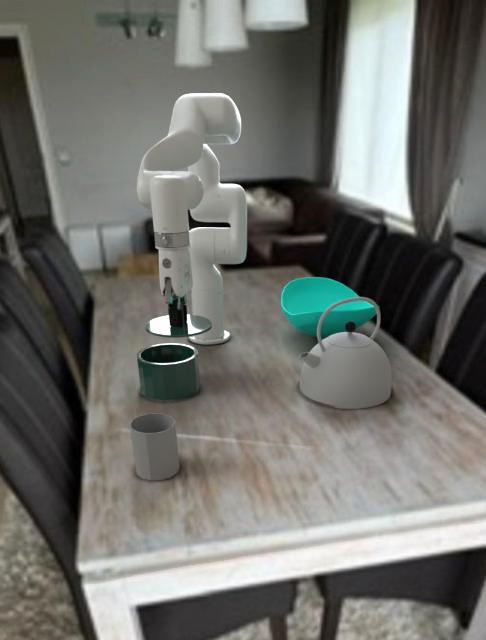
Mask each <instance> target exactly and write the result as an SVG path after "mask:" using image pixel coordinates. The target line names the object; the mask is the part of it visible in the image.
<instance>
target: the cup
mask: <svg viewBox="0 0 486 640" xmlns="http://www.w3.org/2000/svg"><path fill="white" fill-rule="evenodd" d="M129 429H130V437H131V445H132V453H133V459H134V466H135V472H136V475H137V476H138V477H139V478H140V479H142V480H147V481H163V480H168V479H170V478H172V477H173V476H175V475H177V474H178V472H179V470H180V458H179V457H180V456H179V445H178V435H177V424H176V420H175V417H173V416H171V415H170V414H168V413H161V412H149V413H145V414H141V415H139V416H136V417H134V418H133V419H131V421H130V422H129Z"/></svg>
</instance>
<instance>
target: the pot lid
mask: <svg viewBox="0 0 486 640" xmlns="http://www.w3.org/2000/svg"><path fill="white" fill-rule="evenodd" d="M176 302H177V301H176ZM180 304H181V309H182V312H183V327H171V326H170V324H169V314H168V315H163V316H159V317H155V318H153V319H151V320H149V321H147V322H146V324H145V325H144V328H145V331H146V332H147V333H149V334H150V335H152V336H156V337H161V338H171V339H172V338H176V339H179V338H189V337H190V336H196V335H200V334H203V333H205V332H207V331H209V330H210V329H211V328H212V322H211V320H209V319H207V318H205V317H202V316H197V315H193V314H187V318H188V321H187V322H186V323H185V322H184V310H183V302H181V301H180Z"/></svg>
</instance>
